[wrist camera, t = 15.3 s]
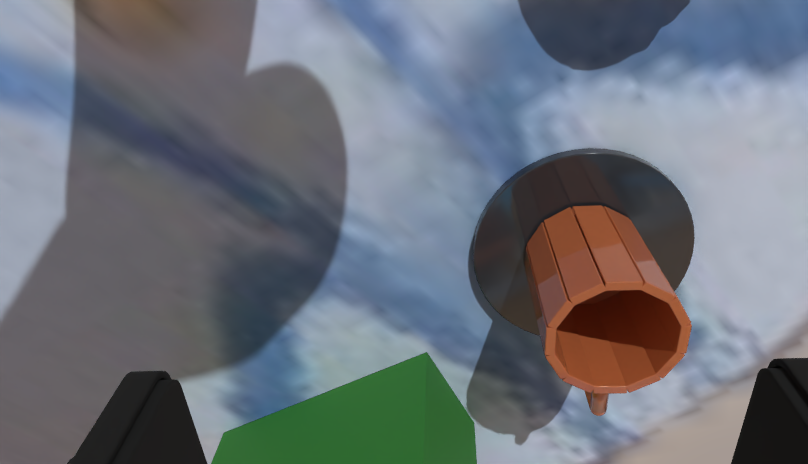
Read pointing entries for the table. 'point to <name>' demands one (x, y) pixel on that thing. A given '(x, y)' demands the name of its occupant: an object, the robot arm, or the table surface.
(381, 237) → the table surface
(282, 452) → the hardback book
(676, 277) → the saucer
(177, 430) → the robot arm
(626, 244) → the wooden mug
